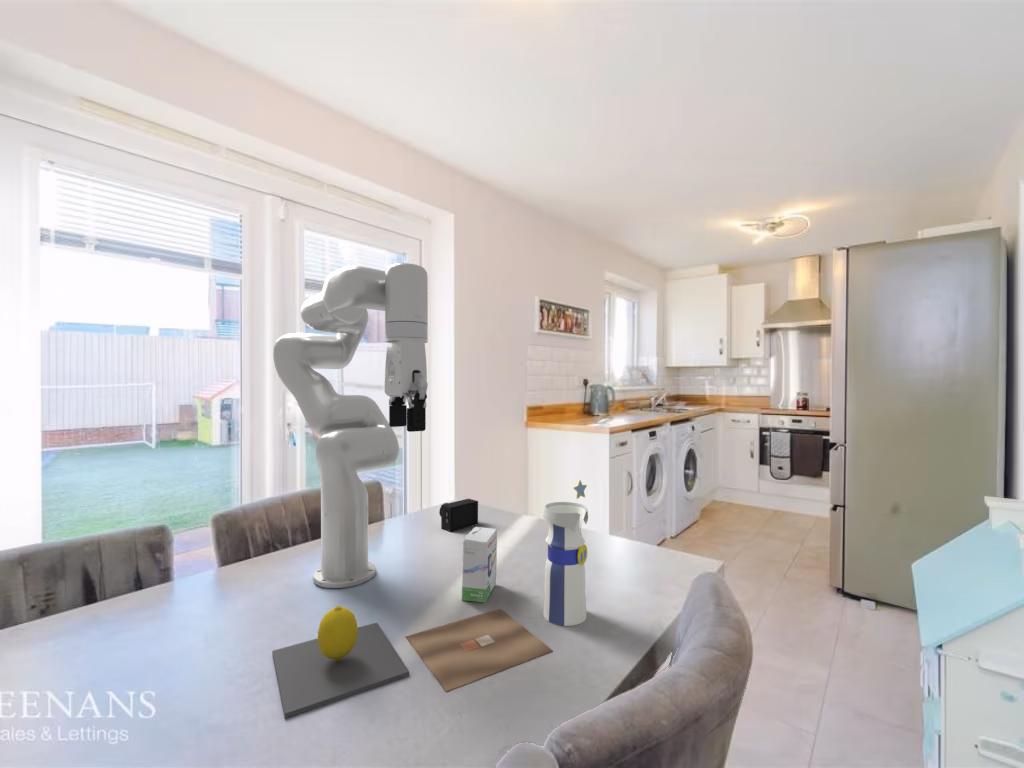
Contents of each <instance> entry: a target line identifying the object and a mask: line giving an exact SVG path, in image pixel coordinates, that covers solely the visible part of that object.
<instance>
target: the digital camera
mask: <svg viewBox="0 0 1024 768" xmlns="http://www.w3.org/2000/svg"><path fill="white" fill-rule="evenodd" d="M438 513H439V514H438V515H439V517H441V518H440V520H441V521H440V522H441V523H440V525H441V527H440V528H441V530H443V531H445V532H448V533H453V532H455V531H459V530H463V529H466V527H467V528H470V527H473V526H472V525H474V526H476V525H475V524H477V525H479V500H475V499H471V498H465V499H462V500H458V501H453V502H452V501H451V502H445V503H443V504H441V506H440V508H439V512H438ZM469 526H470V527H469Z"/></svg>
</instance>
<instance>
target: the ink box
mask: <svg viewBox="0 0 1024 768" xmlns="http://www.w3.org/2000/svg"><path fill="white" fill-rule="evenodd" d="M471 529H472V530H471V531H470V532H469V533H467V534H466V535H465V537H464V538H463V542H462V543H463V546H462V547H463V548H462V552H463V553H462V576H461V577H462V578H461V579H462V580H461V583H462V584H461V600H462V601H468V602H469V601H470V602H477V603H486V602H487V600H488V599H489V597H490V595H491V593H492V591H493V590H494V587H495V586H496V584H497V561H498V560H497V559H498V557H497V553H498V552H497V551H498V549H497V548H498V528H490V527H482V526H475V527H473V528H471Z"/></svg>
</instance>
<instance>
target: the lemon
mask: <svg viewBox="0 0 1024 768" xmlns="http://www.w3.org/2000/svg"><path fill="white" fill-rule="evenodd" d="M317 630H318V632H317V638H318V645H319V648H320V650H321V652H322V653H323V654H324V655H325V656H326V657H328V658H330V659H335V660H336V661H339V660H340V659H341V658H342V657H344V656H346V655H347V654H348V653H349V652H350V651H351V650H352V649H353V647H354V645H355V643H356V640H357V634H358V623H357V619H356V616H355V614H354V612H353V611H352V610H351V609H350V608H348V607H345V606H341V605H335V606H334V608H331V609H329V610H328V611H327V612H326V613H324V615H323V617H322V618H321V620H320V622H319V625H318V629H317Z"/></svg>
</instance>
